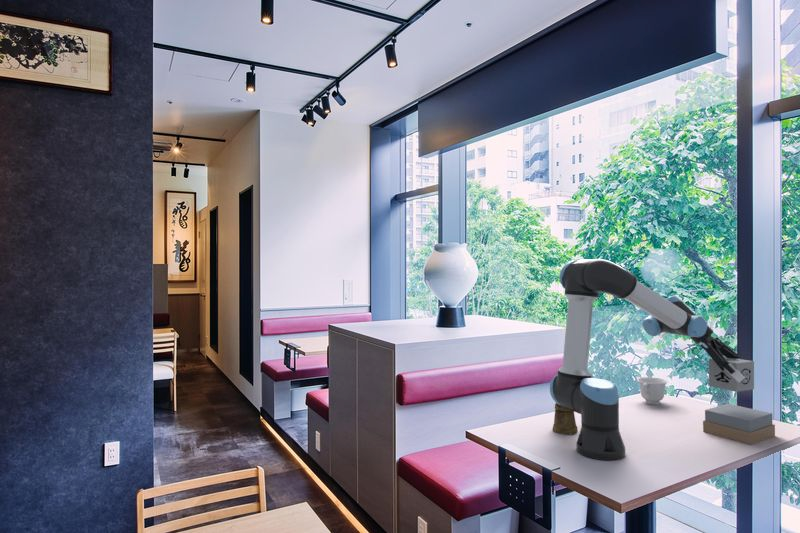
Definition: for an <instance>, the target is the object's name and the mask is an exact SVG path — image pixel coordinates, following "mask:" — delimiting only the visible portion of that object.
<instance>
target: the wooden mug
mask: <svg viewBox="0 0 800 533" xmlns="http://www.w3.org/2000/svg"><path fill="white" fill-rule="evenodd" d="M552 424H553V425H552V431H553V432H554V433H556V434H560V435H575V434H577V433H578V426H577V422H576V416H575V412H574V411H572V410H569V409H566V408H563V407H562V406H560V405H559V404H557V403H556V402H555V404H554V419H553V423H552Z"/></svg>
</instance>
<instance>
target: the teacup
mask: <svg viewBox="0 0 800 533" xmlns="http://www.w3.org/2000/svg"><path fill="white" fill-rule="evenodd" d="M636 381H637V382H638V385H639V390H640V395H641V397H642V399H644V400H645V403H646V404H648V405H660V404H661V403H660V401H662V400H664V397H665V390H666V384H667V383H668V380H666V379H663V378H661V377H660V378H659V377H653V376H651V377H650V376H649V377H647V376H646V377H645V376H644V377H643V376H642V377H639V378H637V379H636Z"/></svg>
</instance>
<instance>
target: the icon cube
mask: <svg viewBox="0 0 800 533" xmlns="http://www.w3.org/2000/svg"><path fill="white" fill-rule="evenodd" d="M724 357H725V356H724ZM725 359H726V360H727V362H728V363H731V364H732V365H733V366H734V368H735V369H736V370H738V371H739V372H740V373H741V374H742V375H743V376H744V377H745V379H743V380H742V381H741V382H739V383H738V382H737V381H736V380H735V379H734V378H733V377H732V376H731V375H730V374H729V373H728V372H727V371H726V370H725V369H724V367H723V368H722V369H720V368H719V366H718V365H717V364H716V363H715V362H714V360H713V359H712V358H711V357H710V358H708V386H709V387H711V388H712V387H713V388H717V389H722V390H727V391H731V392H735V393H736V392H737V393H738V392H744V391H750V390H754V389H755V361H754V360H747V359H741V358H739V359H736V358H727V357H725Z"/></svg>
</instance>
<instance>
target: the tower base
mask: <svg viewBox="0 0 800 533" xmlns="http://www.w3.org/2000/svg"><path fill="white" fill-rule="evenodd" d="M704 419H705V420H702V422H703V423H702V431H703V433H707V434H710V435H715V436H718V437H721V438H725V439H729V440H732V441H737V442H740V443H743V444H747V445H751V446H752V445H754V444H757V443H760V442H763V441H765V440H768V439H771V438H773V437H775V436H776V427H775V426H776V425H775V423H774V424H773V413H772V412H767V411H763V410H760V409H755V408H754V409H753V408H749V407H745V406H740V405H737V404H731V403H726V404H723V405H722V404H721V405H717V406H715V407H711V408H707V409H705V410H704ZM770 437H771V438H770Z"/></svg>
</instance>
